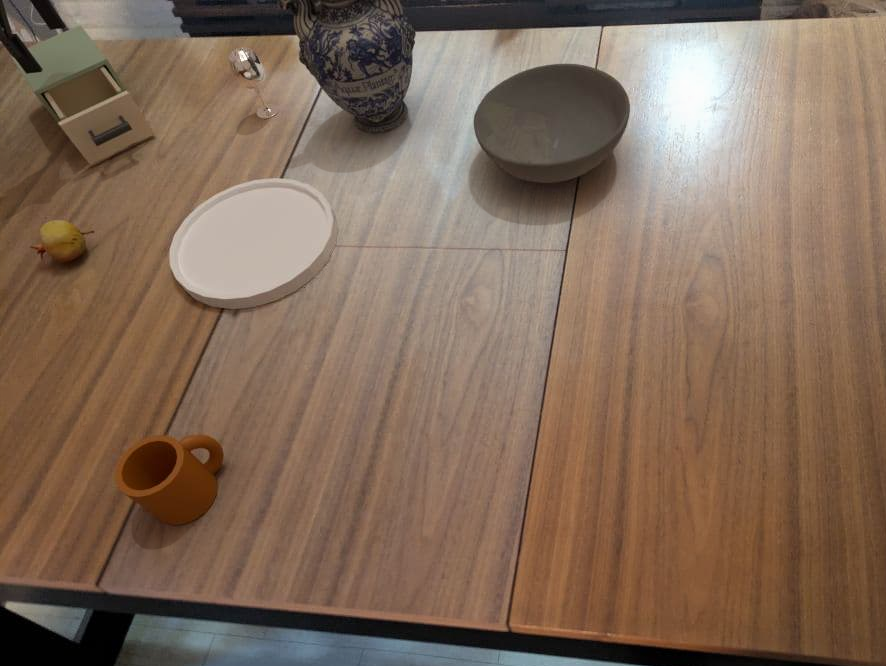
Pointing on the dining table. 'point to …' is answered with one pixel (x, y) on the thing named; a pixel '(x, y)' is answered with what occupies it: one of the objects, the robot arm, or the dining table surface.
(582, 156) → the bowl
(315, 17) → the decorative vase
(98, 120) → the drawer
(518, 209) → the dining table surface
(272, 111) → the wineglass
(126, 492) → the mug
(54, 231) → the fruit
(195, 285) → the plate
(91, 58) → the cabinet
